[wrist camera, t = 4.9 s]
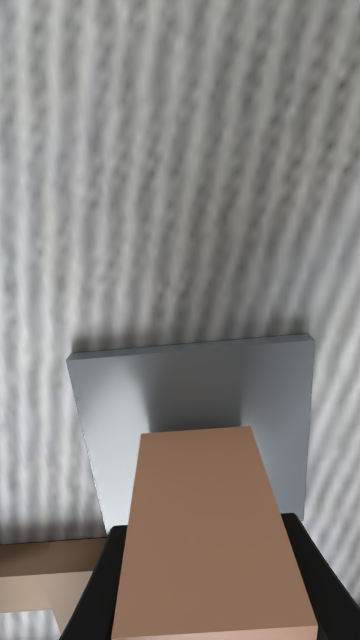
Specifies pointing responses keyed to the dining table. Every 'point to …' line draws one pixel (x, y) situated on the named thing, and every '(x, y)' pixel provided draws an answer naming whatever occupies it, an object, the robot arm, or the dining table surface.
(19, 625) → the dining table surface
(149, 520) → the block
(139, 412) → the coaster
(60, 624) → the pocket board
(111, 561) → the robot arm
